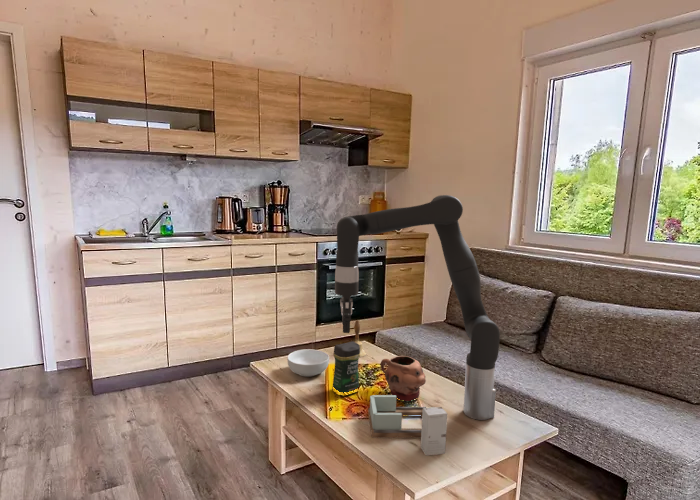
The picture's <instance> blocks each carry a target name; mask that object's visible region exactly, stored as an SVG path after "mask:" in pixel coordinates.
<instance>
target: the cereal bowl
mask: <svg viewBox="0 0 700 500" xmlns="http://www.w3.org/2000/svg"><path fill="white" fill-rule="evenodd" d="M329 363H330V355H329V354H328V353H327V352H325V351H322V350H318V349H309V348H307V349H306V348H305V349H298V350H294V351H293V352H291V353H289V354H288V355H287V366H288V368H289V370H291V372H293V373H294V374H297V375H299V376H301V377H307V378H309V377H314V376H316V375H319V374H321V373H323V372H325V371H326V370H327V368H328V366H329Z"/></svg>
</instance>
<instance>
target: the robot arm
mask: <svg viewBox="0 0 700 500" xmlns="http://www.w3.org/2000/svg"><path fill="white" fill-rule="evenodd" d="M463 210H464V208H463V204H462V202H461V201H460V200H459V198H457V197H455V196H453V195H450V194H448V195H447V194H440V195H437V196H435V197H433V198H432V199H431V201H429V202H425V203H423V204H419V205H415V206H413V205H412V206H408V207H406V206H405V207H396V208H390V209H389V208H387V209H383V210H379V211H373V212H369V213H365V214H355V215H350V216H343V217H342V218H340V219H339V220H338V222H337V223H336V243H337V244H336V247H337V248H336V254H335V255H336V258H335V259H336V260H335V271H334V276H335V277H334V293H335V294H336V295H337V296H340V297H341V298H340V300H339V303H340V304H339V305H340V312H341V313H340V315H341V316H342V318H341V320H342V333H344V334H349V333H350V332H351V321H352V314H353V305H354V301H353V298H351V297H352V296H353V297H354V296H357V295H359V275H360V274H359V251H358V250H359V241H360V239H359V238H360V236H365V235H378V234H384V233H390V232H393V231H399V230H403V229H408V228H413V227H418V226H426V225H427V226H428V225H433V226H434V228H435V230H436V232H437V236H438V238H439V242H440V244H441V249H442V252H443V253H442V255H443V257H444V260H445V265H446V268H447V269H446V270H447V272H448V275H449V278H450V281H451V284H452V287H453V290H454V292H455V295H456V298H457V300H458V302H459V305H460V309H461V313H462V319H463V325H464V329H465V333H466V335H467V337H468V338H469V339H470V349H469V353H467V354H466V358H465V359H466V361H465V375H464V377H465V378H464V394H463V395H464V397H463V413H464V415H465V416H467V417H469V418H471V419H474V420H479V421H484V420H490V419H492V418H495V412H496V411H495V407H496V397H497V396H496V395H497V394H496V393H497V390H496V388H494V387H495V386H494V385H495V373H496V369H495V368H496V362H497V360H498V357H499V350H500V342H501V337H500V336H501V333H500V332H501V331H500V329H499V326H498V325H497V324H496V323H495V322H494V321H493V320H492V319H490V318H489V316H488V314H487V312H486V309H485V306H484V304H483V300H482V296H481V294H482V293H481V292H482V290H481V289H482V288H481V287H482V286H481V285H482V284H481V276H480V272H479V269H478V264H477V261H476V260H475V257H474V254H473V252H472V251H471V250H472V249H470V246H469V245H468V243H467V242H466V240H465V238H464V236H463V234H462V231H461V228H460V224H459V220H460V218H461V217H462V216H463Z"/></svg>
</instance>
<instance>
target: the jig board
mask: <svg viewBox="0 0 700 500" xmlns="http://www.w3.org/2000/svg"><path fill="white" fill-rule="evenodd" d="M423 408H427V406H396V411H377V413H402V417H404V416H403V415H421V416H420V417H422V413H423ZM367 413H368V420H369V428H370V434H371V438H374V439H375V438H376V439H379V438H380V439H381V438H382V439H383V438H386V439H387V438H388V439H389V438H391V439H392V438H398V439H399V438H401V439H403V438H404V439H407V438H410V439H411V438H415V439H416V438H419V439H421V430H422V427H421V428H415V427H414V428H413V427H411V428H410V427H409V428H402V427H401V430H375V429H373V426H372V420H371V414H370V407H368V409H367Z"/></svg>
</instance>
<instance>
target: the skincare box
mask: <svg viewBox="0 0 700 500" xmlns="http://www.w3.org/2000/svg"><path fill="white" fill-rule="evenodd" d="M447 424H448V413H447V411H446V410H445V409H444V408H443V407H442V406H436V407H435V406H431V407H426V408H423V413H422V416H421V428H422V430H421V438H420V448H421V450H422V452H423V453H424V455H425V456H436V455H443V454H445V453H446V443H447V441H446V440H447V429H448V428H447V427H448V425H447Z"/></svg>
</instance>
